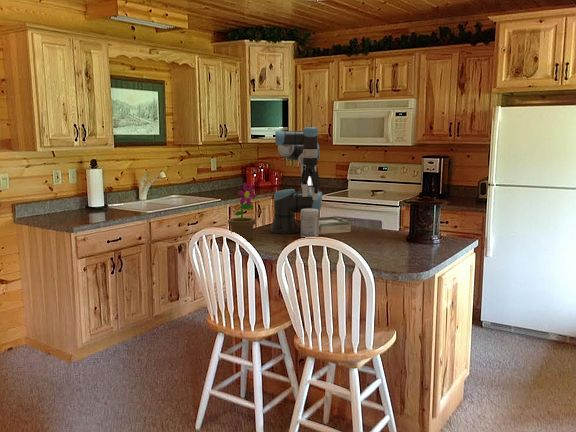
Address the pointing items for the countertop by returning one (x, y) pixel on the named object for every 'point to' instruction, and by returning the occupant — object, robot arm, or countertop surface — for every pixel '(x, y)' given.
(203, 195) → the countertop surface
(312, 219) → the supplement tub
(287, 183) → the countertop surface
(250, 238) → the flowerpot
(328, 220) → the shallow square tray
